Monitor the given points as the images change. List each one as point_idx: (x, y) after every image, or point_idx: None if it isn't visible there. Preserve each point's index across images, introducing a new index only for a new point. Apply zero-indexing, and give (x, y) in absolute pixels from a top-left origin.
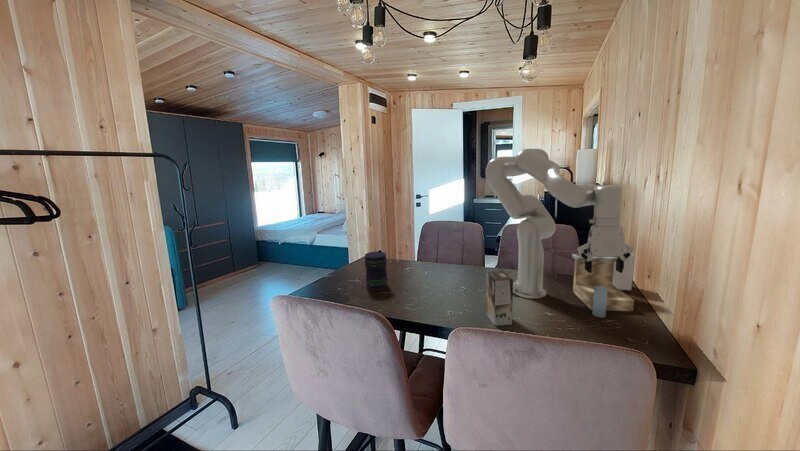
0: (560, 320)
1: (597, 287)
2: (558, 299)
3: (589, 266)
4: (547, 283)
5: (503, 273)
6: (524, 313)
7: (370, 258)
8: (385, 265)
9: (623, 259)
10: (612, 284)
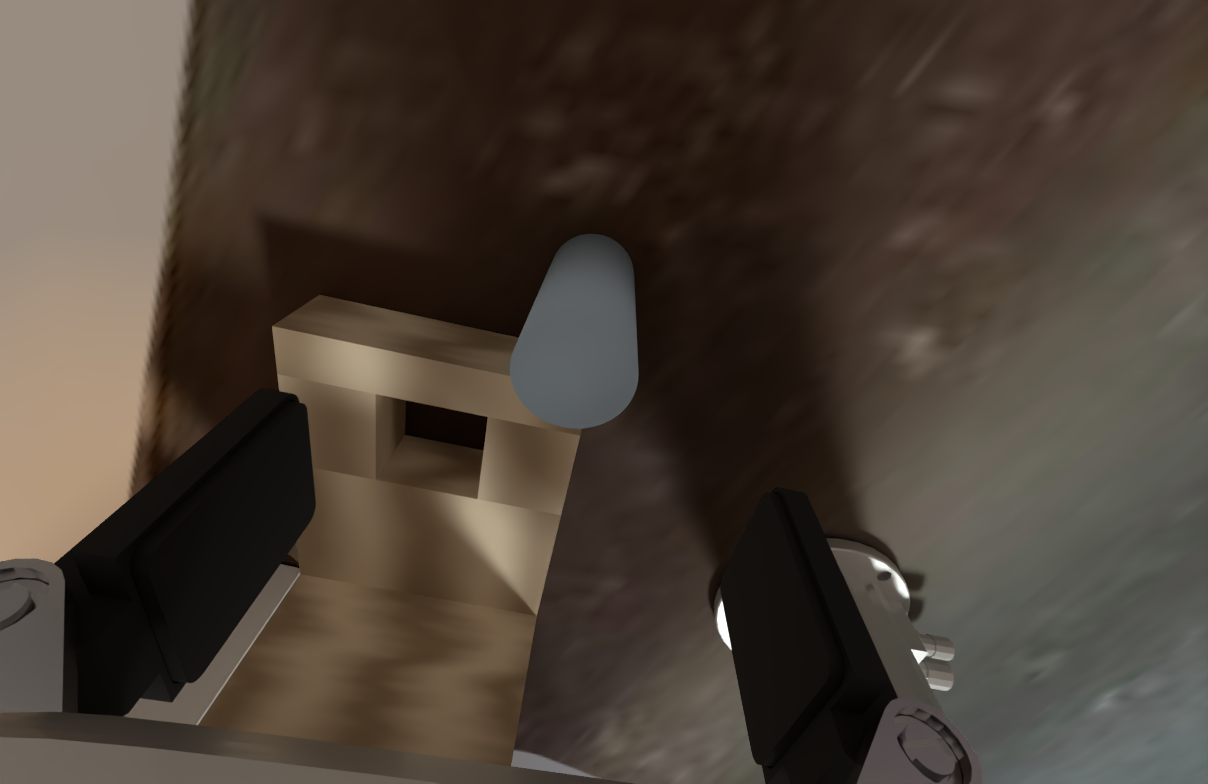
0: (928, 235)
1: (599, 392)
2: (696, 512)
3: (836, 585)
4: (616, 676)
5: None
6: (1076, 375)
7: None
8: None
9: (4, 612)
10: (283, 596)
